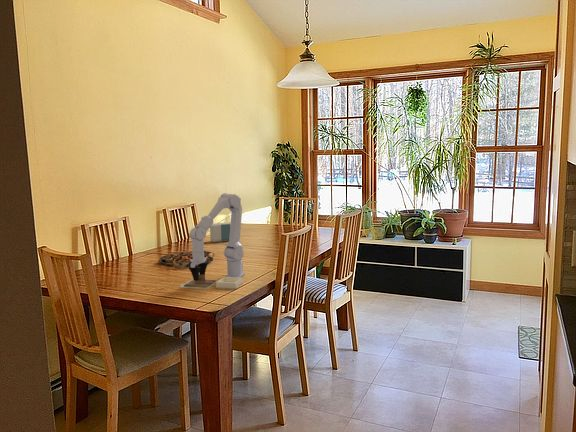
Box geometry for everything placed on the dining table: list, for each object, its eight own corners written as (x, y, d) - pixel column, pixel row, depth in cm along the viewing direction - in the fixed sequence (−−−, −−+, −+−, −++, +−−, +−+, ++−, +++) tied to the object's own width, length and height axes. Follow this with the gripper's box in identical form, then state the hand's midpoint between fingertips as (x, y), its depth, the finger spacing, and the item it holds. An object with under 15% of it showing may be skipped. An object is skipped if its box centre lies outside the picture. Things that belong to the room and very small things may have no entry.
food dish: (203, 271, 274) (202, 258, 272) (149, 270, 280) (147, 257, 279) (223, 256, 308) (222, 244, 306) (174, 255, 314) (173, 244, 313)
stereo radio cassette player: (212, 243, 353) (211, 215, 350) (209, 241, 361) (208, 214, 358) (239, 240, 361) (239, 214, 358) (236, 238, 369) (235, 212, 366)
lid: (194, 280, 250) (193, 272, 249) (215, 281, 247) (215, 273, 246) (183, 286, 238) (183, 278, 238) (206, 287, 235) (206, 279, 235)
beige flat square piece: (191, 279, 251) (191, 279, 251) (218, 281, 248) (218, 280, 248) (179, 287, 238) (179, 286, 238) (207, 289, 234) (207, 288, 234)
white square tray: (223, 282, 245) (223, 277, 245) (242, 283, 243) (242, 277, 242) (216, 288, 235) (216, 282, 235) (235, 289, 233) (235, 283, 233)
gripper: (196, 248, 248) (197, 274, 250) (184, 254, 235) (185, 281, 236) (209, 249, 247) (210, 275, 249) (197, 255, 233) (198, 282, 235)
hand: (199, 278), depth 242 cm, fingers open, 7 cm apart
